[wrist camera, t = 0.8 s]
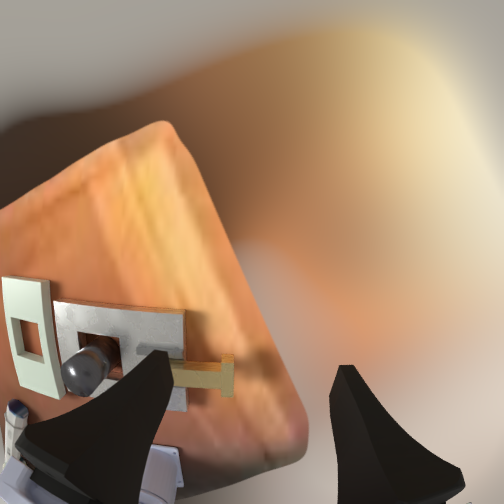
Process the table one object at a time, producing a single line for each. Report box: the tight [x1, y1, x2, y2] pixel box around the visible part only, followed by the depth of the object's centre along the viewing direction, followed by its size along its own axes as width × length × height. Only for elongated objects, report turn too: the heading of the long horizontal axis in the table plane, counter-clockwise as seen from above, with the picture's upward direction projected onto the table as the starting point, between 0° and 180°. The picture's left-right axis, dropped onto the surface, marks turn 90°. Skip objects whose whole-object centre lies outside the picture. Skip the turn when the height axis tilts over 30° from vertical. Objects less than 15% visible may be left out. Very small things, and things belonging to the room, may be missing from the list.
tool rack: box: [2, 275, 66, 400], centre depth 26 cm, size 16×8×2 cm, turn 177°
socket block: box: [54, 298, 189, 412], centre depth 27 cm, size 12×16×3 cm
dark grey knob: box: [61, 336, 121, 397], centre depth 24 cm, size 4×4×8 cm
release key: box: [169, 354, 234, 397], centre depth 26 cm, size 4×8×2 cm, turn 87°
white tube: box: [3, 399, 29, 469], centre depth 25 cm, size 5×7×25 cm
